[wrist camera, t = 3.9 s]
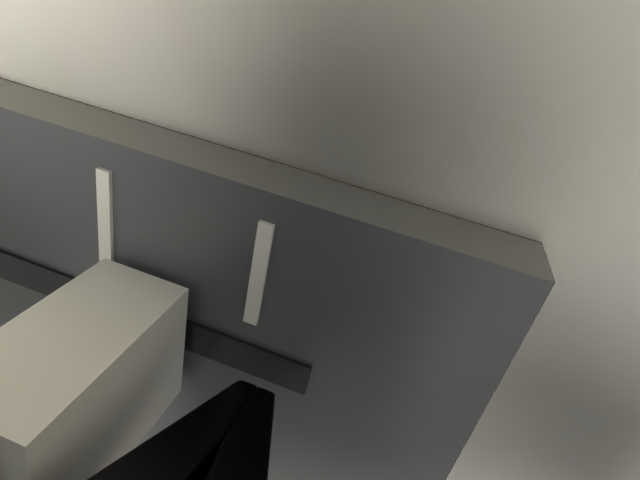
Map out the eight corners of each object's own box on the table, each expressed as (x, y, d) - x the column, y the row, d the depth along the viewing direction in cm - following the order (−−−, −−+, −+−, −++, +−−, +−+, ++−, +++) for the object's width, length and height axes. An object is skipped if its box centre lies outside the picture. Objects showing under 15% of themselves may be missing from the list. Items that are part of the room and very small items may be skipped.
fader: (181, 389, 11) (35, 578, 7) (108, 360, 11) (-66, 525, 7) (188, 288, 9) (12, 459, 6) (104, 258, 10) (-114, 401, 6)
